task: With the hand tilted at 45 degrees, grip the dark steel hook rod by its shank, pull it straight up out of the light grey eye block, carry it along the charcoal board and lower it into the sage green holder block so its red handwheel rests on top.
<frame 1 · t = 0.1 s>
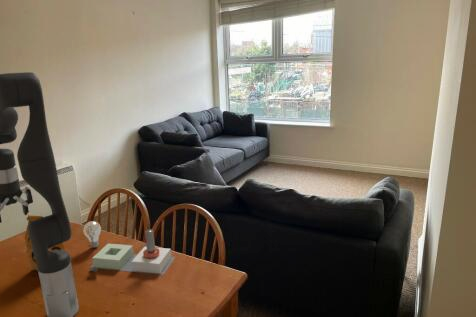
hand: (13, 217, 135), 22 cm above the table, tool pointing down, fingers open, 8 cm apart
hook rod: (152, 264, 141), point 1 cm above the table, touching hook board
coffee package: (50, 268, 143), on the table
light bulb: (95, 247, 158), on the table
hook board: (133, 265, 143), on the table
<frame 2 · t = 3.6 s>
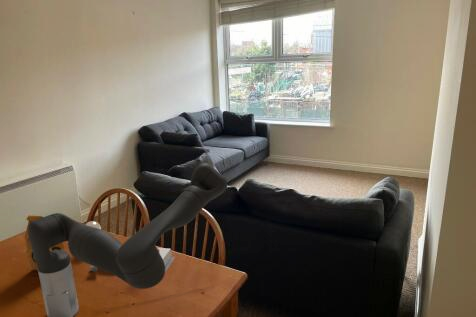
hand: (167, 229, 128), 20 cm above the table, tool tilted 45°, fingers open, 8 cm apart
nothing on the table moved.
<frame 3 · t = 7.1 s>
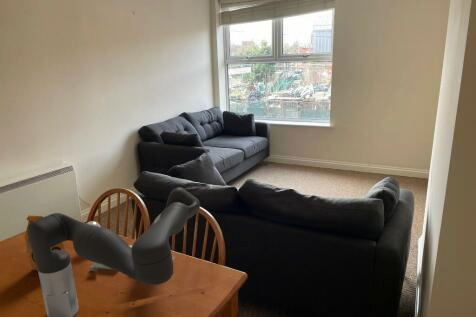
hand: (147, 244, 140), 9 cm above the table, tool tilted 45°, fingers closed on hook rod, 3 cm apart
hook rod: (152, 264, 141), point 2 cm above the table, touching gripper, hook board
everything else where it was.
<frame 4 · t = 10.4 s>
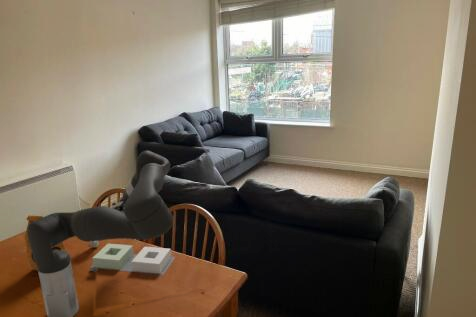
hand: (122, 212, 140), 21 cm above the table, tool tilted 45°, fingers closed on hook rod, 3 cm apart
hook rod: (127, 231, 140), point 14 cm above the table, touching gripper
everything else where it was.
when the fingers open (11 cm above the table, at t = 13.8 s): hook rod stays where it is, resting on hook board.
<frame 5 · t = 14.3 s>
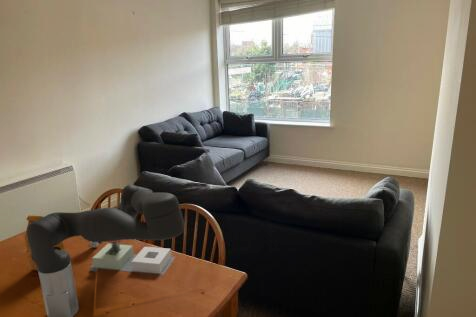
hand: (109, 237, 143), 11 cm above the table, tool tilted 45°, fingers open, 8 cm apart
hook rod: (115, 251, 143), point 6 cm above the table, tilted 12°, touching gripper, hook board
everything else where it was.
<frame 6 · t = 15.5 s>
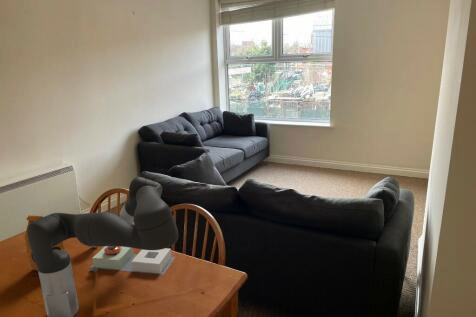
hand: (118, 235, 141), 13 cm above the table, tool tilted 45°, fingers open, 8 cm apart
hook rod: (114, 260, 144), point 2 cm above the table, tilted 5°, touching hook board
everything else where it was.
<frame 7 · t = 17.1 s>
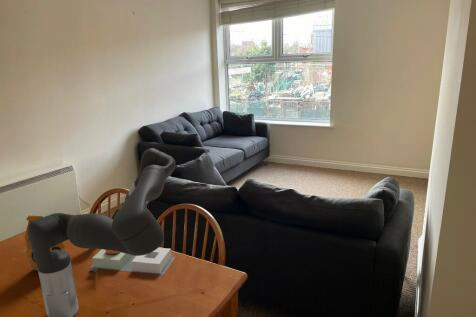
hand: (124, 220, 132), 22 cm above the table, tool tilted 40°, fingers open, 8 cm apart
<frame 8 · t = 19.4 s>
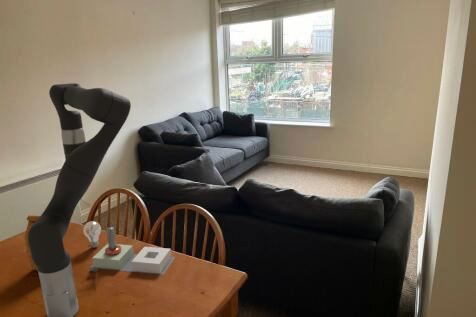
hand: (80, 183, 135), 34 cm above the table, tool pointing down, fingers open, 8 cm apart
nothing on the table moved.
at the end: hook rod 0.6 cm from the target spot, point 1.6 cm above the table; hook rod tilted 5°; the gripper is holding nothing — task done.
